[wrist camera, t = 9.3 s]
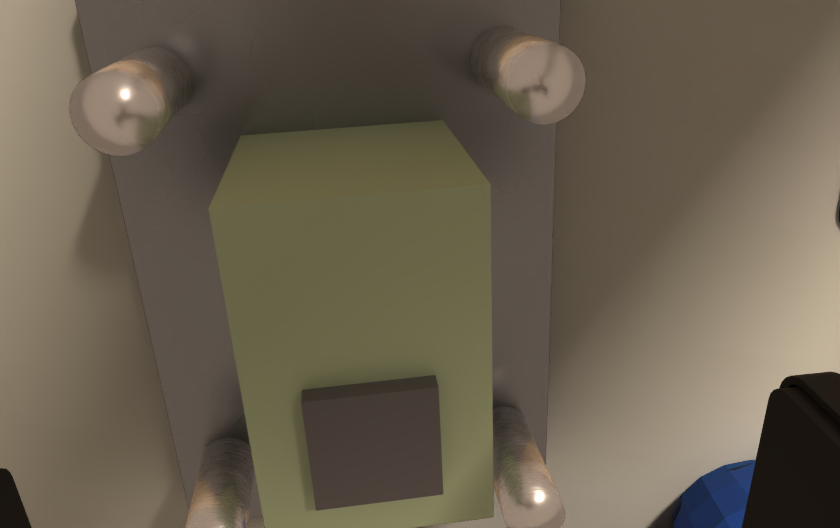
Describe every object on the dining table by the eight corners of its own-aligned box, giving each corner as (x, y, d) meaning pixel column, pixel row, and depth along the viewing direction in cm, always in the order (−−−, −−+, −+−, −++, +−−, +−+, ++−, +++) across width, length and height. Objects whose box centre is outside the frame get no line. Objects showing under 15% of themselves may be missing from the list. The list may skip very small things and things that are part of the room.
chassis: (88, -22, 15) (-3, -14, 11) (545, -45, 16) (626, -46, 12) (199, 494, 21) (167, 634, 17) (533, 454, 22) (585, 576, 18)
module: (240, 135, 16) (204, 216, 11) (442, 120, 16) (495, 191, 11) (281, 401, 19) (266, 562, 14) (452, 382, 19) (498, 531, 14)
